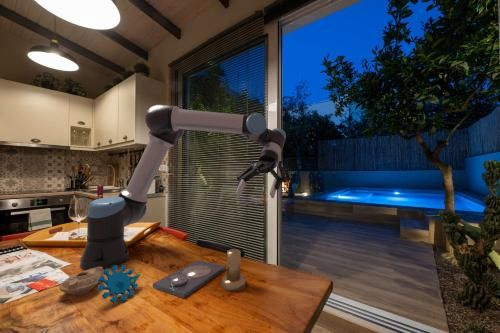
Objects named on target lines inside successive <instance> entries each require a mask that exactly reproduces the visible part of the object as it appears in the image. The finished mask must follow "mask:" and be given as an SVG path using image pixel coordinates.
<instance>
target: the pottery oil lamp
mask: <svg viewBox="0 0 500 333" xmlns="http://www.w3.org/2000/svg"><path fill="white" fill-rule="evenodd" d="M104 270H105V269H104V268H103V267H95V268H91V269H85V270H84V271H83V270H82V271H80V272H77V273H76V274H72V275H70V276H69V277H68V278H67V279H65V280H64V281H63V282H62V283H61V284H60V286H59V290H60V292H63V293H66V294H68V295H74V296H83V295H87V294H88V293H89V292H91V291H92V290H93V288H95V286H97V285H99V283H100V282H98V279H99V278H100V277H101V276H102V275H104V274H103V272H104Z"/></svg>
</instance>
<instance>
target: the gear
mask: <svg viewBox="0 0 500 333" xmlns="http://www.w3.org/2000/svg"><path fill="white" fill-rule="evenodd" d="M118 267H119V265H113V266H112V267H110V268H111V270H110V268H105V269H103V270H104V272H103V274H102V275H101V277H100V278H99V279H98V282H99V283H101V284H98V287H97V292H101V291H105V292H103V293H102V294H101V297H102V300H106V299H107V298H108V297H109V296H111V295H113V296H112V297H111V298H110V300H109V302H110V303H113V304H115V303H116V302H117V301H118V296H119V295H121V296H122V297H120V299H119V302H120V303H124V302H126V300H127V299H128V297H129V298H131V297H132V296H134V295H135V290H136V289H137V288H138V286H139V284H138V283H136V282H137V280H139V278H140V277H141V273H137V274H136V275H133V273H134V270H133V269H132V268H130V269H128V271H126V272H124V271H125V270H126V269H127V266H126V265H125V264H122V265H121V267H119V270H118V271H117V269H118ZM110 272H112V274H111V273H110ZM104 275H105V276H106V277H105V276H104ZM131 275H133V276H131ZM106 278H107V279H106ZM104 284H105V285H104ZM126 292H128V294H127V295H126ZM127 296H128V297H127Z"/></svg>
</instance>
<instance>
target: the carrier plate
mask: <svg viewBox="0 0 500 333" xmlns="http://www.w3.org/2000/svg"><path fill="white" fill-rule="evenodd" d="M224 271H227V265H224V264H219V263H214V262H210V261H206V260H201V259H197V260H196V261H193V262H191V263H190V264H187V265H186V266H184V267H182V268H179V269H177V270H176V271H173V272H172V273H170V274H169V275H166V276H164V277H163V278H161V279H159V280H157V281H155V282H153V283H152V288H153V289H155V290H158V291H162V292H165V293H167V294H170V295H173V296H176V297H179V298H182V299H185V298H187V297H188V296H190V295H191V294H192V293H194V292H195V291H197V290H199V289H200V288H202V287H203V286H205V285H206V284H207V283H209V282H210V281H211V280H213V279H215V277H218V276H219V275H220V274H222V273H224Z"/></svg>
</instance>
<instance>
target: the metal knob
mask: <svg viewBox="0 0 500 333" xmlns="http://www.w3.org/2000/svg"><path fill="white" fill-rule="evenodd" d="M245 287H246V276H245V275H244V274H241V250H240V249H237V248H236V249H235V248H231V249H228V250H227V252H226V274H225V275H223V276H222V277H221V288H222V290H224V291H227V292H231V293H233V292H234V293H235V292H239V291H243V289H245Z"/></svg>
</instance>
